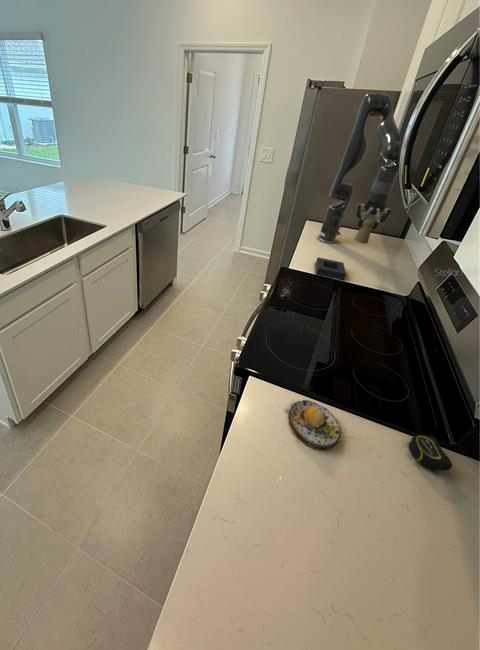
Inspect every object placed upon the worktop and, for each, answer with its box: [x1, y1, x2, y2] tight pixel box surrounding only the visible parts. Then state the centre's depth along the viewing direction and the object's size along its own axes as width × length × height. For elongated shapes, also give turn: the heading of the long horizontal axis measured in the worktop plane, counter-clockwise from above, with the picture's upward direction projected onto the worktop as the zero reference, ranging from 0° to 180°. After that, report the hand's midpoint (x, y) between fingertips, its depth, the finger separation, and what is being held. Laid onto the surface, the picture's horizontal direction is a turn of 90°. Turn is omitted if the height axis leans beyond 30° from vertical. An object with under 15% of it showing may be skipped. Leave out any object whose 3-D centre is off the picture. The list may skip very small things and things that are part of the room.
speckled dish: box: [287, 399, 342, 451], centre depth 72 cm, size 12×12×8 cm
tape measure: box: [408, 434, 453, 471], centre depth 69 cm, size 7×7×4 cm
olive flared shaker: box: [353, 217, 376, 245], centre depth 141 cm, size 6×6×11 cm
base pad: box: [315, 257, 347, 281], centre depth 145 cm, size 12×12×4 cm
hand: (366, 227), depth 141 cm, fingers closed on olive flared shaker, 5 cm apart
